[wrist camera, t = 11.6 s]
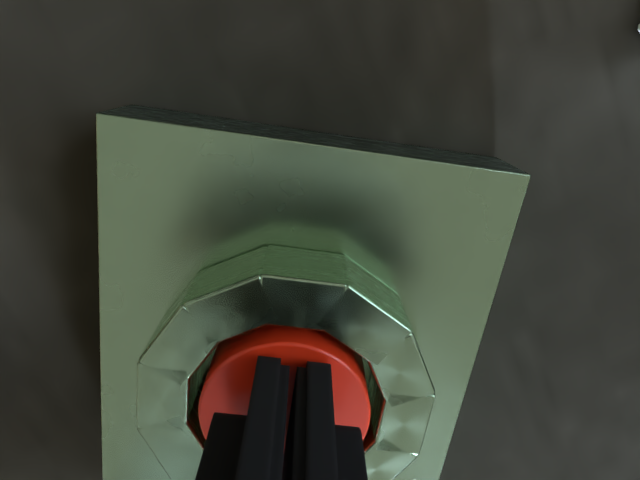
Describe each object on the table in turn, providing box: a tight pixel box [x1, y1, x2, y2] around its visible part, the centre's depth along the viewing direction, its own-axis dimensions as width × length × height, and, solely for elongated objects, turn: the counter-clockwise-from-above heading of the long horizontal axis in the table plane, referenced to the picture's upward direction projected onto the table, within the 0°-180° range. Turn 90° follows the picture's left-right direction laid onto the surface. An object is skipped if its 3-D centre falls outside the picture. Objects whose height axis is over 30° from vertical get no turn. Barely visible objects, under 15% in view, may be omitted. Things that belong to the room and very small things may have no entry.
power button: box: [198, 325, 371, 449], centre depth 12 cm, size 4×4×2 cm
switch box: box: [96, 105, 531, 480], centre depth 13 cm, size 12×10×4 cm
